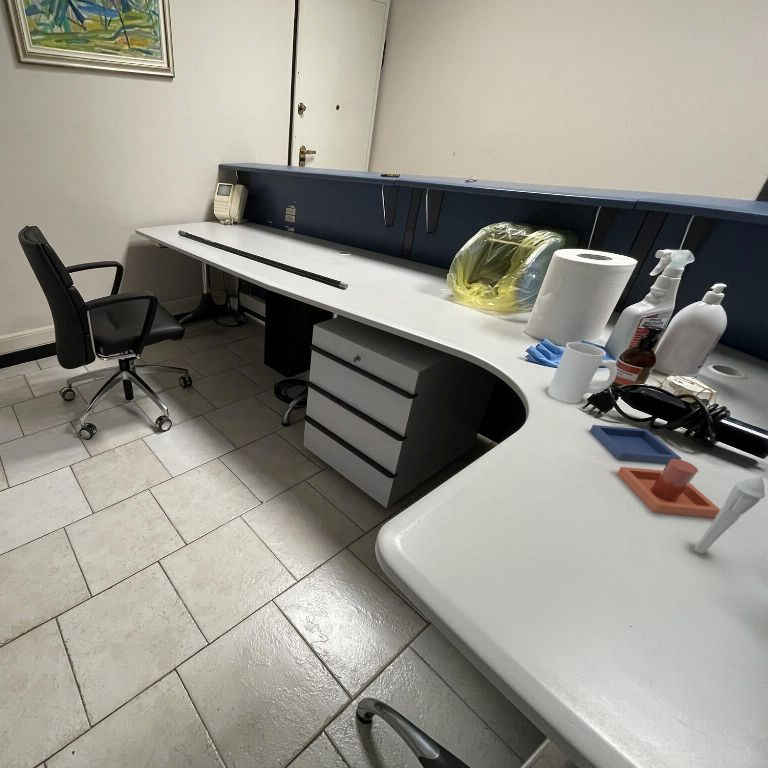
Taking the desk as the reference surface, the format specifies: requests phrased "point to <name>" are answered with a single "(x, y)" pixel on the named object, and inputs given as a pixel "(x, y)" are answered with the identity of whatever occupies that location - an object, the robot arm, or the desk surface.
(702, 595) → the desk surface
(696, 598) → the desk surface
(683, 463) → the red peg
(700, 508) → the terracotta tray
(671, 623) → the desk surface
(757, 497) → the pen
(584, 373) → the mug
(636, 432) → the blue tray
